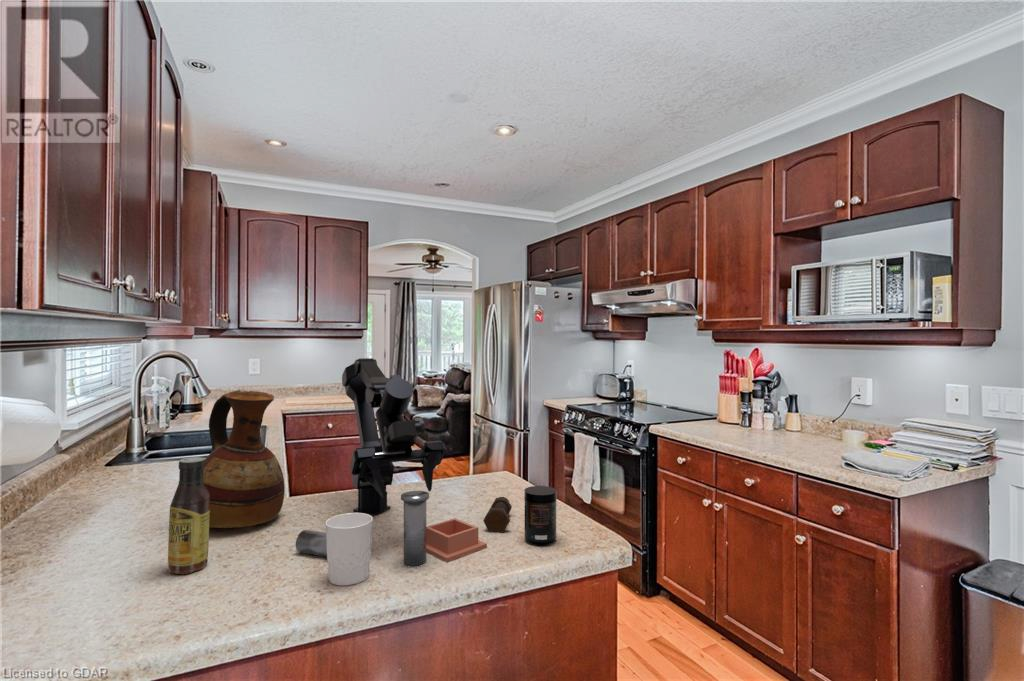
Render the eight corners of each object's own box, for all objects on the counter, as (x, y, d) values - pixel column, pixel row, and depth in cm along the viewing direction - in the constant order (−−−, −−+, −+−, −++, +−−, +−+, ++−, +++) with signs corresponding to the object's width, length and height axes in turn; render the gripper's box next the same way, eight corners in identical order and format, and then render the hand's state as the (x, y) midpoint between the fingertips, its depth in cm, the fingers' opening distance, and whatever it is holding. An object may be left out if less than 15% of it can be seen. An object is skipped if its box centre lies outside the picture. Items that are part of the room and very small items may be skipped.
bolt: (505, 518, 126) (499, 539, 111) (488, 507, 126) (479, 526, 112) (517, 497, 126) (513, 516, 111) (500, 486, 126) (493, 503, 111)
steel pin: (394, 564, 95) (395, 496, 95) (412, 554, 100) (413, 489, 100) (416, 570, 93) (417, 500, 93) (434, 559, 97) (434, 493, 97)
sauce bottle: (159, 573, 91) (159, 461, 91) (192, 559, 97) (192, 454, 97) (185, 578, 89) (186, 464, 89) (217, 564, 95) (218, 456, 95)
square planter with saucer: (416, 547, 103) (416, 527, 103) (455, 534, 110) (455, 515, 110) (446, 562, 96) (446, 540, 96) (486, 547, 103) (486, 527, 103)
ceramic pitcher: (235, 544, 104) (235, 396, 104) (163, 531, 111) (164, 393, 111) (303, 513, 123) (304, 388, 123) (238, 504, 129) (239, 386, 130)
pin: (302, 556, 101) (292, 546, 98) (313, 535, 104) (303, 525, 101) (354, 564, 97) (345, 554, 95) (364, 543, 100) (355, 533, 97)
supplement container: (553, 533, 111) (553, 485, 111) (559, 546, 104) (559, 494, 104) (522, 534, 110) (522, 486, 110) (526, 547, 103) (526, 495, 103)
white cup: (326, 591, 85) (327, 530, 85) (323, 571, 92) (324, 515, 92) (375, 582, 88) (375, 524, 88) (369, 564, 95) (369, 510, 95)
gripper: (353, 407, 101) (365, 476, 91) (443, 402, 110) (463, 465, 100) (345, 441, 108) (356, 508, 98) (430, 434, 116) (448, 495, 107)
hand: (407, 493), depth 100 cm, fingers open, 9 cm apart
